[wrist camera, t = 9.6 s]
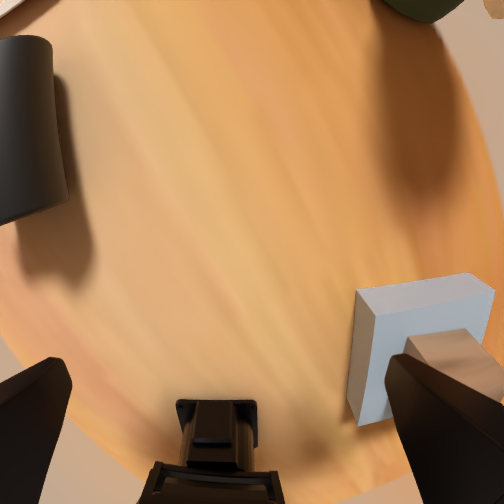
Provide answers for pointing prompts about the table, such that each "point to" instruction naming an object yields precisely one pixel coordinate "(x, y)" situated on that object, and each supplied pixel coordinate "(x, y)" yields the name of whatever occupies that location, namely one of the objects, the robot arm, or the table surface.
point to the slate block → (407, 330)
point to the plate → (8, 6)
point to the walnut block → (459, 360)
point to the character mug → (440, 8)
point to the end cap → (28, 130)
